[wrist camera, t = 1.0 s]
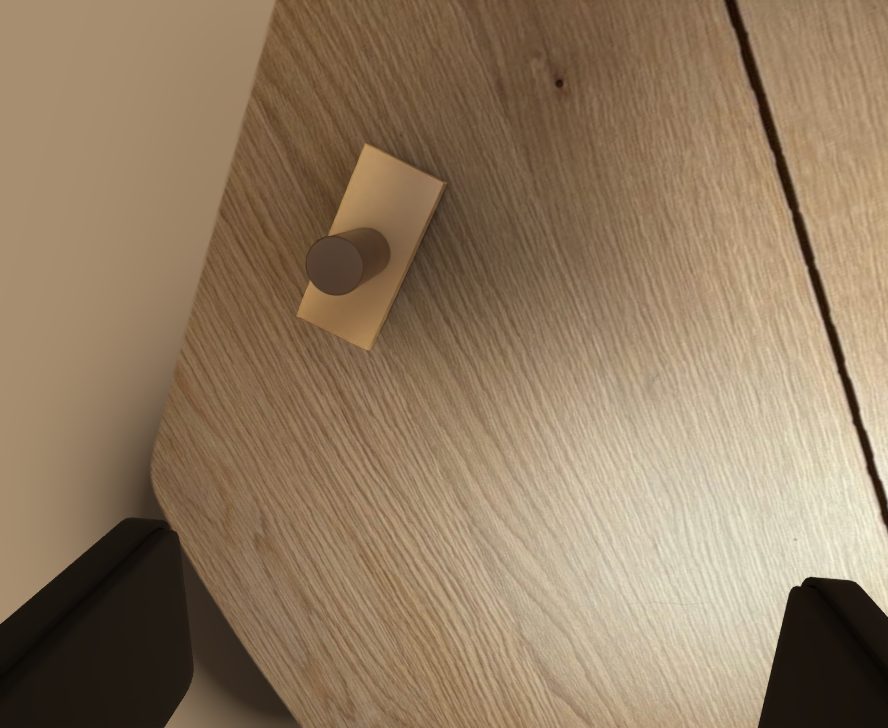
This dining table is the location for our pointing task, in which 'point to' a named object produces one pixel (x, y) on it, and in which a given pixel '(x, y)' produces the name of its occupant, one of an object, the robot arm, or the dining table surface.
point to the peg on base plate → (369, 246)
